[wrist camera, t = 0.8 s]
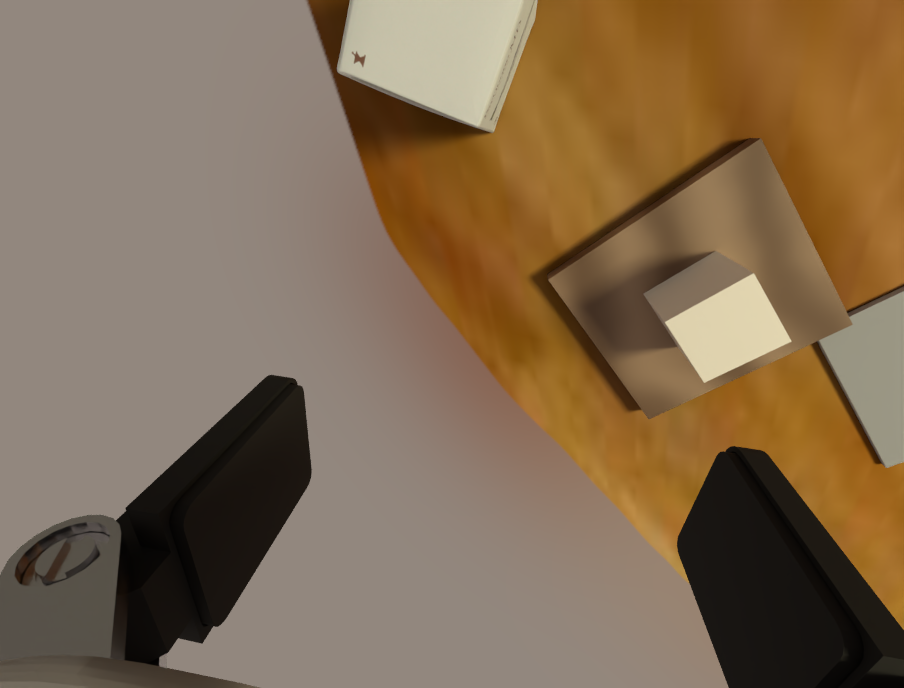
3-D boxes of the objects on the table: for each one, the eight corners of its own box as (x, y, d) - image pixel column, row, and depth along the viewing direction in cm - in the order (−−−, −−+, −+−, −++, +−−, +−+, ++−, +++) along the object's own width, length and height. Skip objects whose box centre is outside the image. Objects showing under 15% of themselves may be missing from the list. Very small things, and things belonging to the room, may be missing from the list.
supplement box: (494, 136, 31) (477, 136, 19) (400, 96, 30) (328, 72, 19) (539, 17, 27) (551, -67, 16) (434, -30, 27) (370, -148, 16)
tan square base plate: (749, 138, 28) (791, 138, 24) (839, 316, 32) (889, 345, 28) (547, 274, 34) (550, 294, 30) (644, 409, 39) (660, 444, 34)
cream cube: (715, 250, 30) (753, 272, 25) (749, 309, 32) (791, 341, 27) (643, 293, 32) (664, 322, 27) (677, 346, 34) (704, 382, 29)
